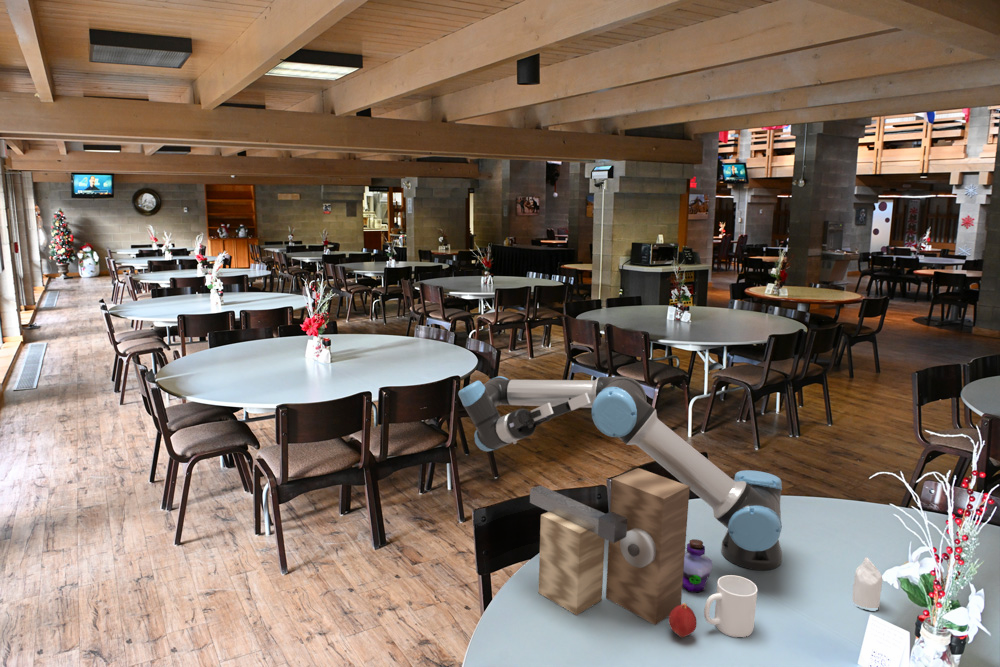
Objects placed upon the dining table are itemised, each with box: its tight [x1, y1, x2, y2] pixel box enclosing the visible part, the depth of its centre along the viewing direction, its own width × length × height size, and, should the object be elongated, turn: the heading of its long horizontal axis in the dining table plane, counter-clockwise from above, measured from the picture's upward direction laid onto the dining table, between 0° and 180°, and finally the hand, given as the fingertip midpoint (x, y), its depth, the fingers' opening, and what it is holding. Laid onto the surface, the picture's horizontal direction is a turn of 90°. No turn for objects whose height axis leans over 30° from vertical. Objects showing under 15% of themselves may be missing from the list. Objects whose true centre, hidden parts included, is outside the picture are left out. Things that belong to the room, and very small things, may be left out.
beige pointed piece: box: [851, 557, 883, 608], centre depth 159 cm, size 6×12×6 cm
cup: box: [703, 574, 758, 638], centre depth 149 cm, size 8×12×10 cm
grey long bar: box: [529, 485, 627, 543], centre depth 156 cm, size 26×4×4 cm, turn 42°
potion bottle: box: [682, 539, 713, 594], centre depth 165 cm, size 9×9×12 cm
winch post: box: [605, 467, 691, 626], centre depth 155 cm, size 14×13×30 cm
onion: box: [668, 602, 697, 638], centre depth 146 cm, size 6×6×8 cm
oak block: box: [538, 511, 606, 616], centre depth 159 cm, size 12×9×20 cm
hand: (569, 402), depth 166 cm, fingers open, 13 cm apart
